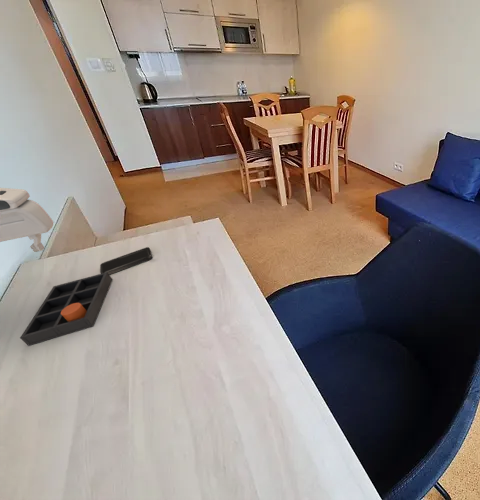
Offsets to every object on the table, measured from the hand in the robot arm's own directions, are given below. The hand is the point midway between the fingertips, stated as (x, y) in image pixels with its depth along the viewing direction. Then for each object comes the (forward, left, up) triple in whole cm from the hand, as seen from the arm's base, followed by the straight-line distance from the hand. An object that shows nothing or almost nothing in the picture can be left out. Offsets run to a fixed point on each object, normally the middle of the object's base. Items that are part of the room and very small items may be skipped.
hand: (16, 255), depth 73 cm
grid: (+1, +2, -21) cm, 21 cm away
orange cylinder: (+4, -5, -20) cm, 21 cm away
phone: (+11, +21, -21) cm, 31 cm away
